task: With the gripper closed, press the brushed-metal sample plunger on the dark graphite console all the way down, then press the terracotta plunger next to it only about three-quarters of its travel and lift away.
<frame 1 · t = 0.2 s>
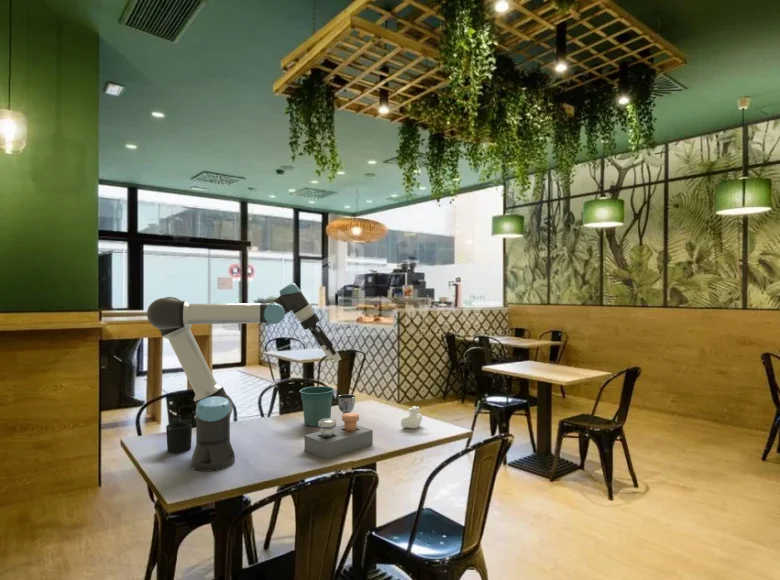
hand: (335, 359, 201), 35 cm above the table, tool tilted 35°, fingers open, 13 cm apart
bust: (412, 428, 220), on the table
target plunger: (350, 423, 198), point 8 cm above the table, slide at 0.0 cm
wine glass: (346, 429, 218), on the table
sample plunger: (327, 429, 189), point 8 cm above the table, slide at 0.0 cm
press console: (339, 447, 193), on the table
pen holder: (179, 450, 191), on the table
flower pot: (317, 423, 227), on the table
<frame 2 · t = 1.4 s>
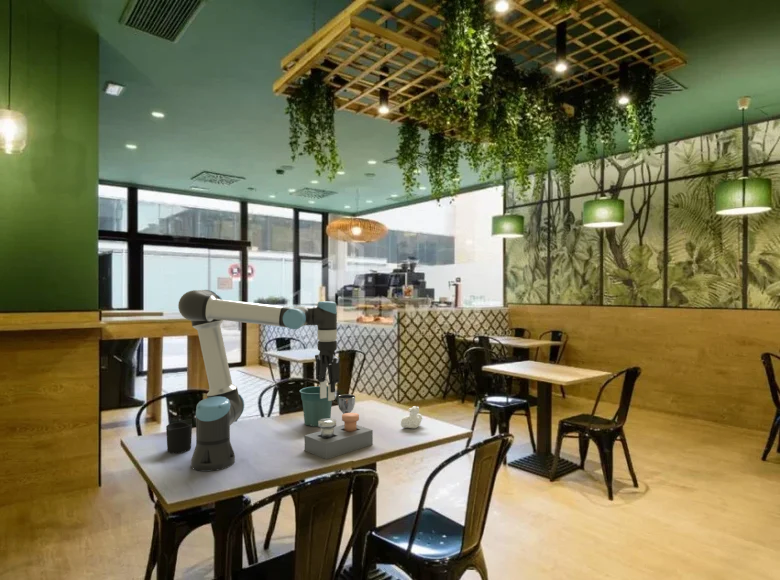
hand: (327, 398, 189), 21 cm above the table, tool pointing down, fingers open, 4 cm apart
nothing on the table moved.
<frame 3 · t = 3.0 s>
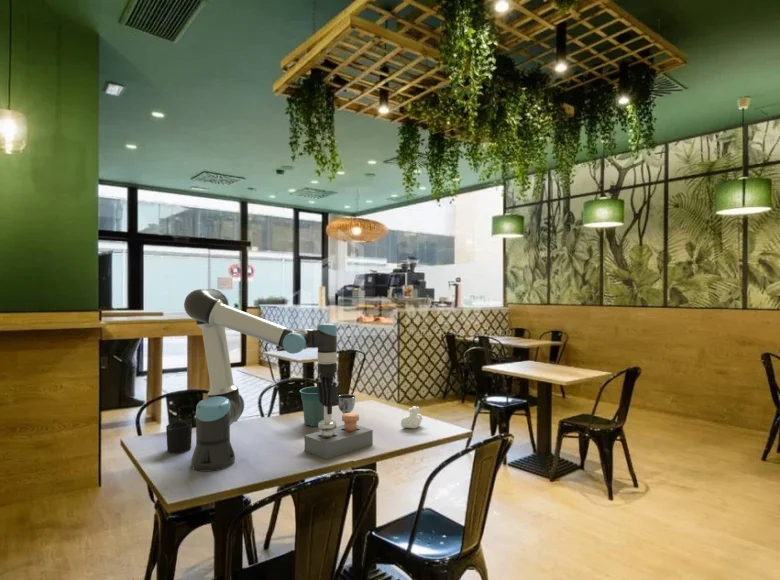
hand: (327, 421, 189), 12 cm above the table, tool pointing down, fingers closed
sample plunger: (327, 431, 189), point 8 cm above the table, slide at 0.7 cm, touching gripper
everything else where it was.
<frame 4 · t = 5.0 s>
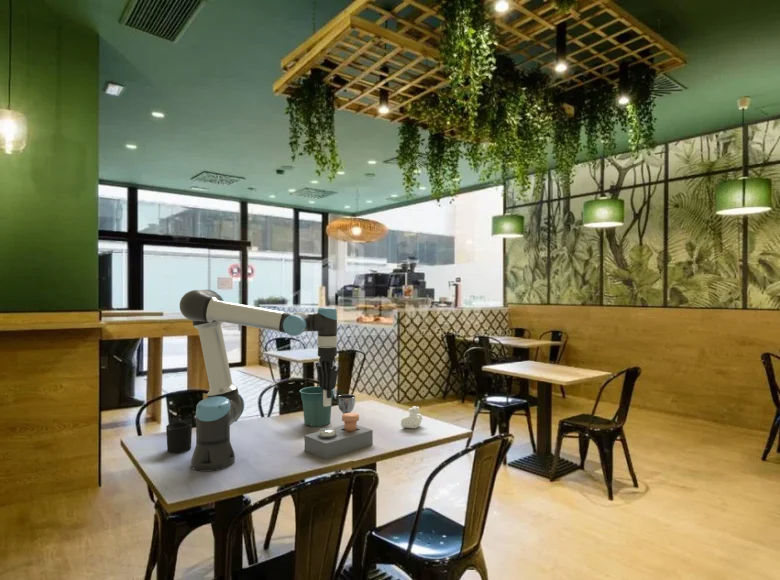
hand: (327, 405, 189), 18 cm above the table, tool pointing down, fingers closed
sample plunger: (327, 439, 189), point 5 cm above the table, slide at 3.9 cm
everything else where it was.
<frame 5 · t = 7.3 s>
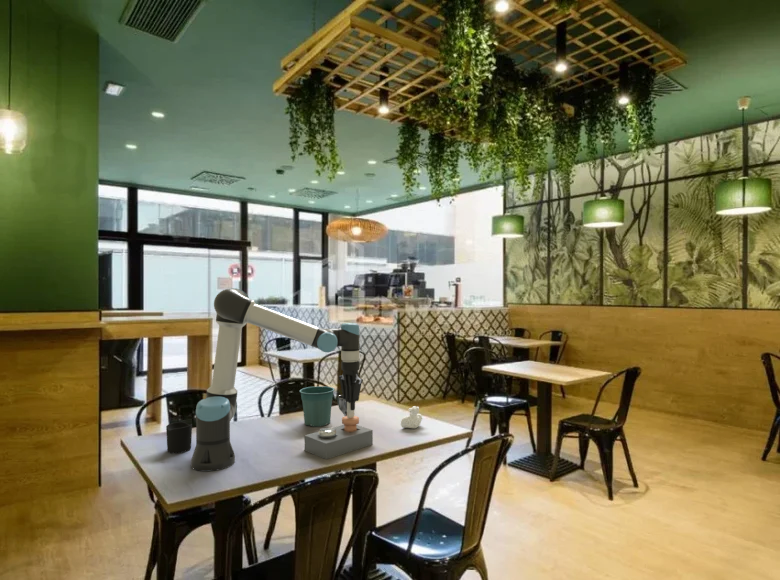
hand: (350, 417, 198), 11 cm above the table, tool pointing down, fingers closed
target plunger: (350, 426, 198), point 7 cm above the table, slide at 1.3 cm, touching gripper
everything else where it was.
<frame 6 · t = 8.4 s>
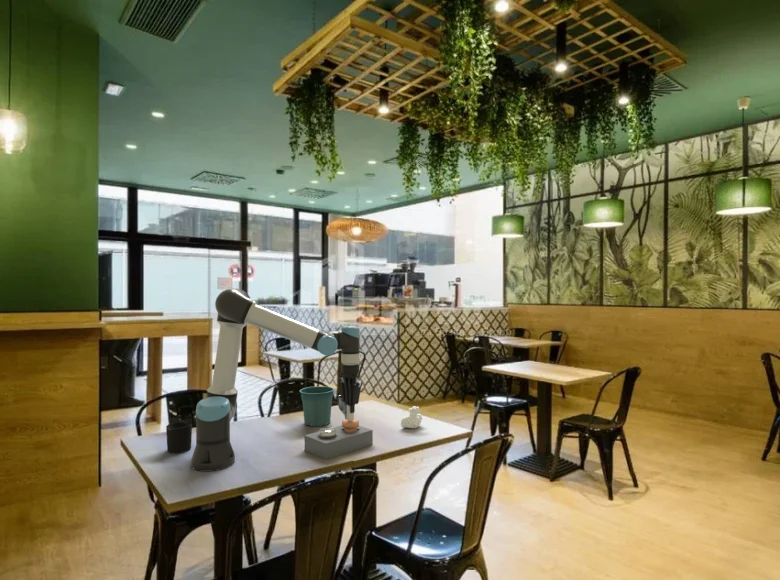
hand: (350, 420, 198), 10 cm above the table, tool pointing down, fingers closed
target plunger: (350, 429, 198), point 6 cm above the table, slide at 2.6 cm
everything else where it was.
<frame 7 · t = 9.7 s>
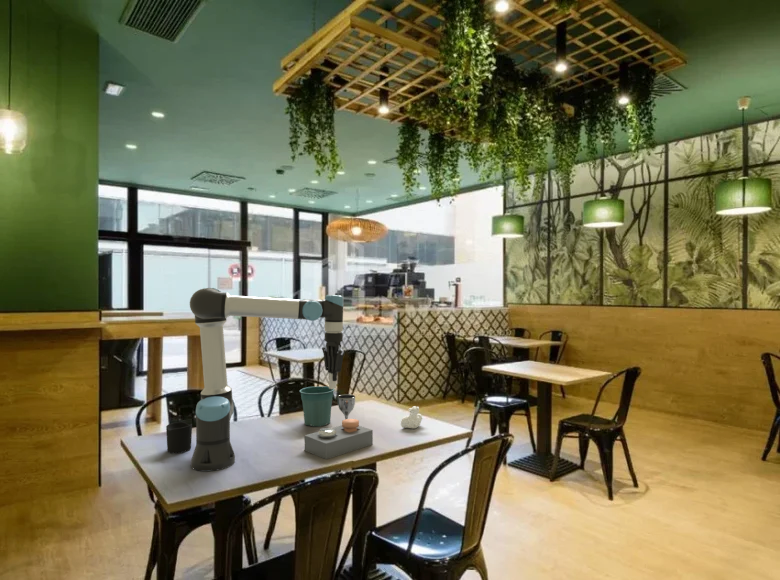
hand: (332, 388, 199), 23 cm above the table, tool pointing down, fingers closed
nothing on the table moved.
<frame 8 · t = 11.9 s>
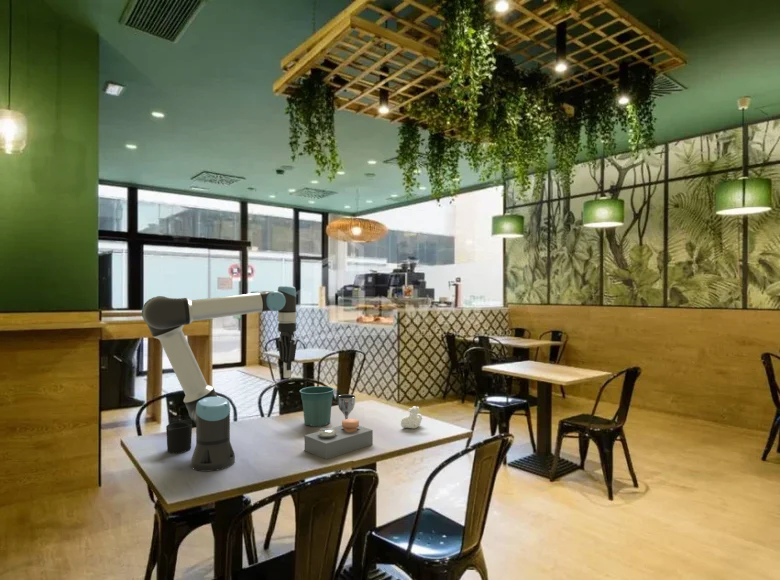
hand: (287, 377, 204), 26 cm above the table, tool pointing down, fingers closed
nothing on the table moved.
at the end: sample plunger slide at 3.9 cm; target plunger slide at 2.6 cm; wine glass moved 0.2 cm from its start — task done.
